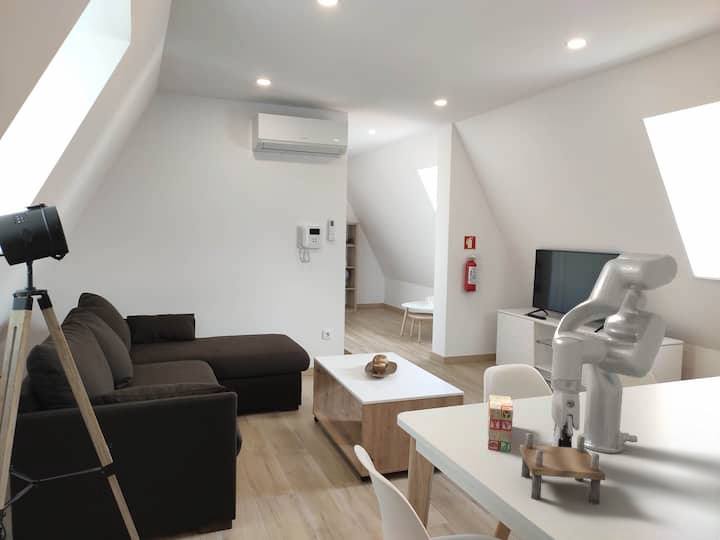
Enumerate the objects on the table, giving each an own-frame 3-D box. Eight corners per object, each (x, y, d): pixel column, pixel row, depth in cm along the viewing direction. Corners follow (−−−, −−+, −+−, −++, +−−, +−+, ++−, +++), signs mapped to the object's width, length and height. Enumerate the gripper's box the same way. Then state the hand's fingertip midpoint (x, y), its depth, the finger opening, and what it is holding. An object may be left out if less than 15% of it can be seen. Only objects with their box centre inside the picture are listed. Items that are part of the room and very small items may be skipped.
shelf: (583, 477, 134) (586, 435, 133) (603, 506, 120) (606, 458, 119) (518, 472, 135) (520, 430, 135) (530, 500, 122) (533, 453, 121)
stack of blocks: (487, 423, 170) (489, 386, 170) (507, 426, 169) (509, 388, 168) (487, 450, 150) (490, 407, 149) (510, 452, 148) (513, 409, 147)
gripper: (591, 394, 133) (586, 465, 134) (571, 376, 150) (567, 439, 151) (560, 392, 134) (555, 463, 135) (543, 374, 150) (540, 438, 152)
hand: (561, 450), depth 143 cm, fingers open, 3 cm apart
